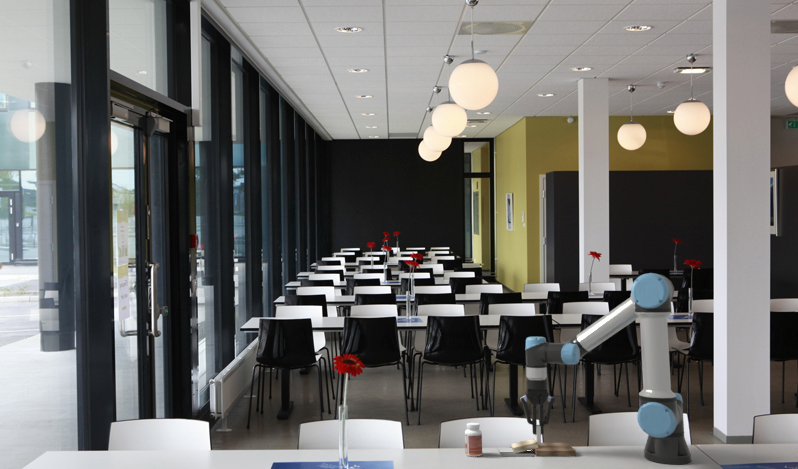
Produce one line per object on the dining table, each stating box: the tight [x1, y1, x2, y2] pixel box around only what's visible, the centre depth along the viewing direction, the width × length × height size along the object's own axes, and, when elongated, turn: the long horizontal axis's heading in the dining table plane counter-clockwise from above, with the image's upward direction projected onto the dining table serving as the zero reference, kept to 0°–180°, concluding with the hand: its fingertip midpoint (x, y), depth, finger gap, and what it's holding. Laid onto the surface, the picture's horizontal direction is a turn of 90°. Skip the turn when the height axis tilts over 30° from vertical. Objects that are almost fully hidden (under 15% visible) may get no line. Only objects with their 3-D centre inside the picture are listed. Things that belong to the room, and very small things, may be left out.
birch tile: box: [510, 438, 538, 453], centre depth 224 cm, size 9×6×2 cm, turn 90°
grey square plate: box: [499, 450, 536, 458], centre depth 224 cm, size 12×12×1 cm
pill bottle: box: [464, 422, 483, 458], centre depth 222 cm, size 6×6×11 cm
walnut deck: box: [531, 442, 577, 457], centre depth 224 cm, size 14×12×2 cm
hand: (538, 443), depth 225 cm, fingers closed
